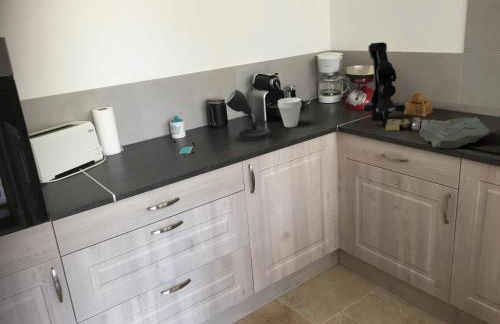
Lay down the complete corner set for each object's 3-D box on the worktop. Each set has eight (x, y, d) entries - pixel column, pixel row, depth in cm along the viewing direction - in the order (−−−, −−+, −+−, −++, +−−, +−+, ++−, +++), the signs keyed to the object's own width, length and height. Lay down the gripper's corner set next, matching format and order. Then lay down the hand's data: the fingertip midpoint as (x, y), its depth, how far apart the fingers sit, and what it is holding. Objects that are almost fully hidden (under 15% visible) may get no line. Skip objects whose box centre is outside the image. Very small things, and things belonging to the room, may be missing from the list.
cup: (286, 129, 220) (284, 103, 215) (275, 125, 231) (273, 100, 226) (306, 125, 224) (305, 99, 220) (295, 121, 235) (293, 96, 231)
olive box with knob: (385, 130, 204) (385, 122, 203) (387, 124, 214) (388, 117, 212) (408, 130, 200) (408, 123, 199) (409, 124, 210) (409, 117, 209)
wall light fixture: (222, 89, 211) (262, 82, 213) (230, 137, 220) (268, 130, 221) (224, 94, 197) (267, 87, 198) (232, 145, 205) (273, 138, 206)
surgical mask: (171, 139, 207) (192, 135, 210) (173, 147, 208) (193, 144, 211) (179, 150, 188) (202, 145, 191) (181, 159, 190) (203, 155, 193)
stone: (436, 140, 168) (412, 121, 185) (435, 158, 171) (411, 138, 189) (504, 128, 170) (473, 110, 187) (501, 146, 173) (471, 128, 191)
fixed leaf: (411, 130, 200) (411, 123, 199) (412, 124, 209) (412, 117, 208) (434, 131, 196) (435, 123, 195) (434, 124, 205) (435, 117, 204)
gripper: (362, 96, 201) (362, 128, 206) (404, 96, 193) (403, 129, 198) (365, 91, 210) (365, 122, 215) (406, 91, 203) (405, 123, 208)
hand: (384, 124), depth 209 cm, fingers closed
